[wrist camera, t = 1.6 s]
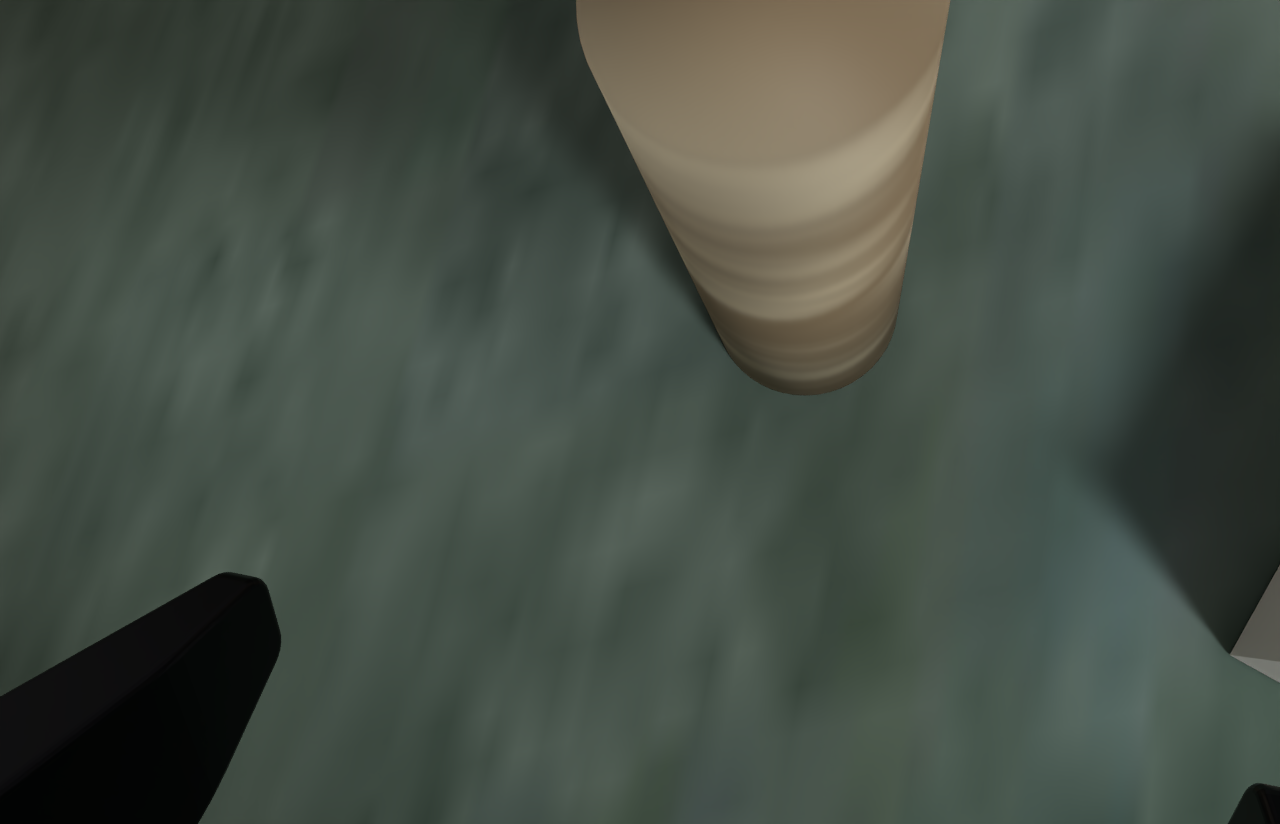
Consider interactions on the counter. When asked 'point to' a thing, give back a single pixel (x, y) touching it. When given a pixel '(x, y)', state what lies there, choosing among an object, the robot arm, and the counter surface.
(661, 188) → the peg
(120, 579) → the counter surface
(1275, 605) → the socket
